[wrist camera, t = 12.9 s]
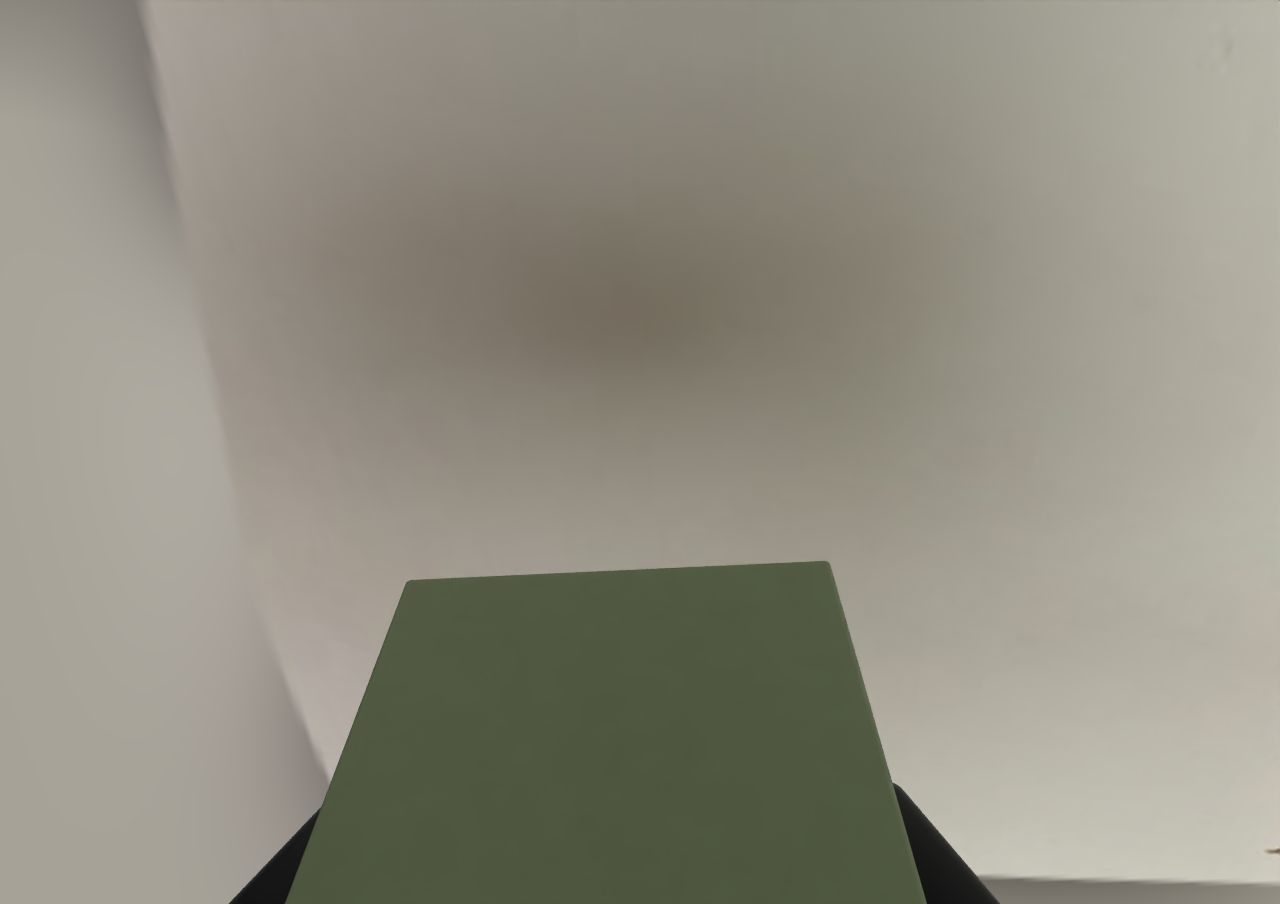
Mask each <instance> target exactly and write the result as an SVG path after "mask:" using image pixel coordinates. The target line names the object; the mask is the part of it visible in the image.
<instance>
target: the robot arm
mask: <svg viewBox="0 0 1280 904" xmlns="http://www.w3.org/2000/svg"><path fill="white" fill-rule="evenodd" d="M893 787H894V790H895V794H896V797H897V801H898V804H899V808H900V811H901V815H902V819H903V822H904V826H905V829H906V833H907V836H908V840H909V843H910V847H911V850H912V854H913V857H914V861H915V864H916V868H917V871H918V875H919V878H920V882H921V885H922V889H923V892H924V896H925V899H926V903H927V904H1000V903H999V902H998V901H997V899H996V898H995V897H994V896H993V895H992V894H991V892H990V891H989V890H988V889H987V888H986V886H985V885H984V884H983V883H982V882H981V881H980V880H979V878H978V877H977V876H976V875H975V874H974V872H973V871H972V870H971V869H970V868H969V867H968V865H967V864H966V863H965V862H964V861H963V860H962V858H961V857H960V856H959V855H958V854H957V853H956V851H955V850H954V849H953V848H952V847H951V846H950V844H949V843H948V842H947V841H946V840H945V838H944V837H943V836H942V835H941V834H940V833H939V831H938V830H937V829H936V828H935V827H934V826H933V824H932V823H931V822H930V821H929V820H928V819H927V817H926V816H925V815H924V814H923V813H922V812H921V810H920V809H919V808H918V807H917V806H916V805H915V803H914V802H913V801H912V800H911V799H910V798H909V796H908V795H907V794H906V793H905V792H904V790H903V789H902V788H901V787H899V786H898V785H896V784H895V783H893ZM320 810H321V808H320V809H319V810H318V811H317V812H316V813H315V814H314V815H313V816H312V817H311V818H310V819H309V820H308V821H307V822H306V823H305V824H304V825H303V826H302V827H301V829H300V830H299V831H298V832H297V833H296V834H295V835H294V836H293V837H292V838H291V839H290V840H289V841H288V842H287V843H286V844H285V845H284V846H283V847H282V849H280V851H279V852H278V853H277V854H276V855H275V856H274V857H273V858H272V859H271V860H270V861H269V862H268V863H267V864H266V865H265V866H264V867H263V868H262V869H261V870H260V872H258V874H257V875H256V876H255V877H254V878H253V879H252V880H251V881H250V882H249V883H248V884H247V885H246V886H245V887H244V888H243V889H242V890H241V891H240V893H238V894H237V896H236V897H235V898H234V899H233V900H232V901H231V902H230V903H229V904H285V902H286V900H287V897H288V894H289V892H290V889H291V886H292V884H293V881H294V879H295V876H296V873H297V871H298V868H299V865H300V863H301V860H302V857H303V855H304V852H305V849H306V847H307V844H308V841H309V839H310V836H311V834H312V831H313V828H314V826H315V823H316V820H317V818H318V815H319V812H320Z"/></svg>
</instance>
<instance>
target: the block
mask: <svg viewBox="0 0 1280 904" xmlns="http://www.w3.org/2000/svg"><path fill="white" fill-rule="evenodd" d="M285 904H927V903H926V899H925V896H924V892H923V889H922V885H921V882H920V878H919V875H918V871H917V868H916V864H915V861H914V857H913V854H912V850H911V847H910V843H909V840H908V836H907V833H906V829H905V826H904V822H903V819H902V815H901V811H900V808H899V804H898V801H897V797H896V794H895V790H894V787H893V783H892V780H891V776H890V773H889V769H888V766H887V762H886V759H885V755H884V752H883V748H882V745H881V741H880V738H879V734H878V731H877V727H876V724H875V720H874V717H873V713H872V710H871V706H870V703H869V699H868V696H867V692H866V689H865V685H864V682H863V678H862V675H861V671H860V668H859V664H858V661H857V657H856V654H855V650H854V647H853V643H852V639H851V636H850V632H849V629H848V625H847V622H846V618H845V615H844V611H843V608H842V604H841V601H840V597H839V594H838V590H837V587H836V583H835V580H834V576H833V573H832V569H831V566H830V564H829V563H828V562H826V561H814V562H792V563H771V564H749V565H727V566H706V567H684V568H662V569H641V570H619V571H597V572H576V573H554V574H532V575H511V576H489V577H467V578H446V579H424V580H410V581H408V582H406V585H405V587H404V590H403V593H402V595H401V598H400V601H399V603H398V606H397V609H396V611H395V614H394V616H393V619H392V622H391V624H390V627H389V630H388V632H387V635H386V638H385V640H384V643H383V646H382V648H381V651H380V654H379V656H378V659H377V661H376V664H375V667H374V669H373V672H372V675H371V677H370V680H369V683H368V685H367V688H366V691H365V693H364V696H363V699H362V701H361V704H360V706H359V709H358V712H357V714H356V717H355V720H354V722H353V725H352V728H351V730H350V733H349V736H348V738H347V741H346V744H345V746H344V749H343V751H342V754H341V757H340V759H339V762H338V765H337V767H336V770H335V773H334V775H333V778H332V781H331V783H330V786H329V789H328V791H327V794H326V796H325V799H324V802H323V804H322V807H321V810H320V812H319V815H318V818H317V820H316V823H315V826H314V828H313V831H312V834H311V836H310V839H309V841H308V844H307V847H306V849H305V852H304V855H303V857H302V860H301V863H300V865H299V868H298V871H297V873H296V876H295V879H294V881H293V884H292V886H291V889H290V892H289V894H288V897H287V900H286V902H285Z"/></svg>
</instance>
